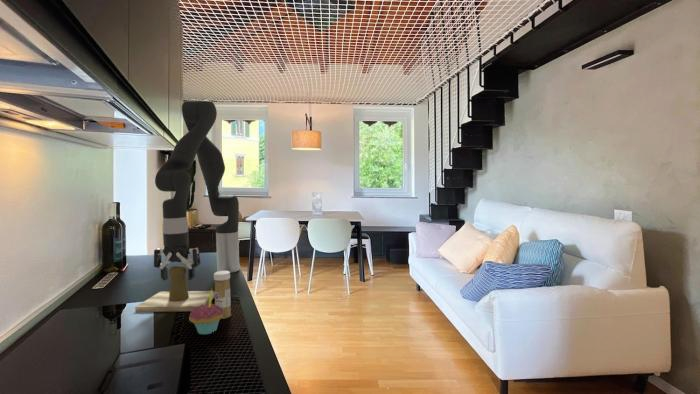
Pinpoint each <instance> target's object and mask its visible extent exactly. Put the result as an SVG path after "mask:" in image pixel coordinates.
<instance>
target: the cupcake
mask: <svg viewBox="0 0 700 394" xmlns="http://www.w3.org/2000/svg"><path fill="white" fill-rule="evenodd" d="M209 291H210V296H209V303H208V304H207V305H200V306H197V307H196V308H195V309H193V310H192V311H190V313H189V317H188V320H189V322H190V323H193V324H194V326H195V328H196V332H197V333H198V334H199V335H210V334H213V333H215V332H216V331H217V329H218V326H219V324H220V323H219V322H220V320H221V319H220V318H222V315H223V310H222V309H221V307H219V306H217V305H215V303H212V301H213V299H212V292H213V291H214V290H213V288H211V289H210V290H209ZM214 331H215V332H214ZM212 332H213V333H212Z"/></svg>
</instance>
